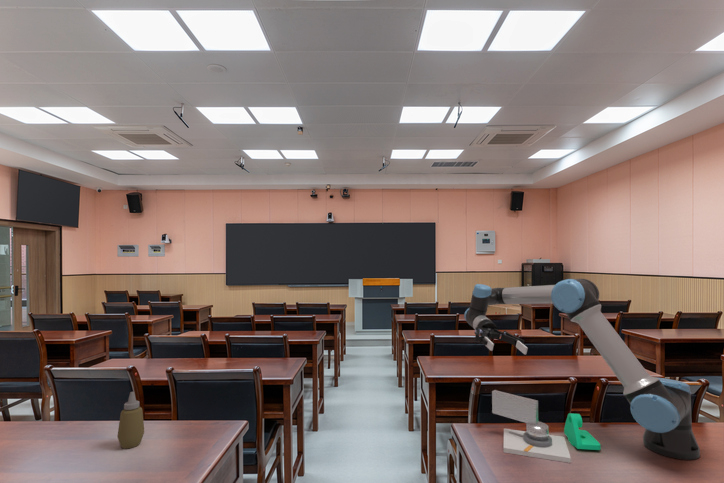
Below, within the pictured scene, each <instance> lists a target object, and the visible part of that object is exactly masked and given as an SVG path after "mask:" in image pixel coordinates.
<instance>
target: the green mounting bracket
mask: <svg viewBox="0 0 724 483" xmlns="http://www.w3.org/2000/svg"><path fill="white" fill-rule="evenodd" d="M582 427H583V418H582V416H581V414H580V413H570V412H569V413H568V414H567V417H566V420H565V423H564V429H563V434H564V435H565V436H566V437H567V440H568V442H569V443H570V444H571V446H572V448H573V447H575V448H576V449H577V450H590V451H591V450H593V451H594V450H595V451H601V449H602V448H601V446H602V445H601V443H600V442H599V441H598V440H597V438H595V437H594V436H593V435H592V434H591V433H590V432H589V431H588V430H585V429H579V428H582Z"/></svg>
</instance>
